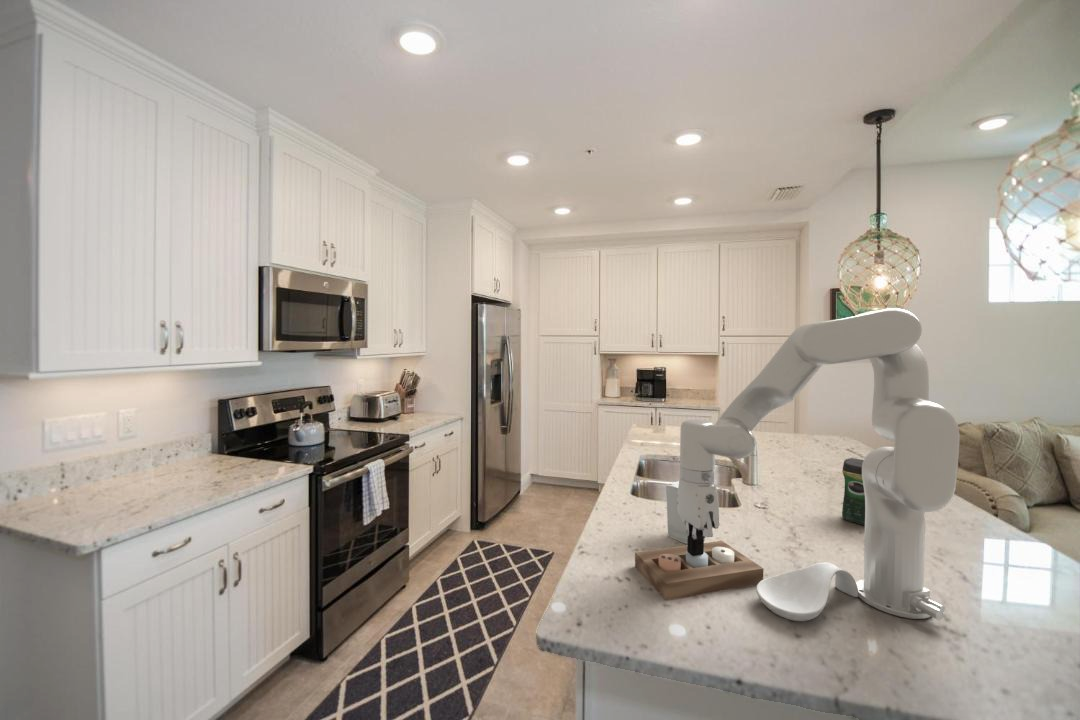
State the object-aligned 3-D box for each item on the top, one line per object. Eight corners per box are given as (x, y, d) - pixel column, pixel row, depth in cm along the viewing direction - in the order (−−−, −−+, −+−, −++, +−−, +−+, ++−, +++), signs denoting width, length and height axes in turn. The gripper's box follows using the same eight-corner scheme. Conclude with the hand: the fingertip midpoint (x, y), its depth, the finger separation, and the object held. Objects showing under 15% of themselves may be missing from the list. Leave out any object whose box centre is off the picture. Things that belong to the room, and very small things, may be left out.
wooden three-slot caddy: (763, 583, 95) (763, 568, 95) (666, 599, 89) (666, 583, 89) (721, 554, 108) (721, 540, 108) (635, 566, 103) (635, 552, 102)
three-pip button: (684, 582, 95) (685, 561, 95) (665, 585, 94) (665, 564, 94) (673, 571, 100) (673, 551, 100) (654, 573, 99) (654, 554, 99)
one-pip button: (738, 573, 99) (738, 554, 99) (720, 576, 98) (720, 556, 97) (724, 563, 103) (725, 544, 103) (707, 566, 102) (707, 547, 102)
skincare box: (705, 542, 115) (705, 487, 115) (690, 547, 112) (691, 491, 112) (679, 530, 122) (679, 479, 122) (665, 536, 119) (665, 483, 119)
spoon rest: (797, 638, 77) (797, 599, 77) (743, 603, 88) (743, 569, 88) (876, 607, 87) (877, 572, 87) (819, 578, 98) (819, 547, 97)
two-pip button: (712, 577, 97) (712, 557, 97) (693, 580, 96) (693, 560, 96) (699, 566, 102) (699, 547, 101) (681, 569, 100) (681, 550, 100)
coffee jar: (886, 523, 127) (887, 461, 126) (876, 530, 122) (877, 465, 122) (848, 513, 135) (849, 454, 134) (837, 519, 130) (838, 458, 130)
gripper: (733, 483, 92) (731, 567, 92) (692, 464, 106) (690, 537, 107) (702, 486, 90) (700, 572, 90) (664, 466, 104) (663, 540, 105)
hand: (695, 553), depth 99 cm, fingers closed
